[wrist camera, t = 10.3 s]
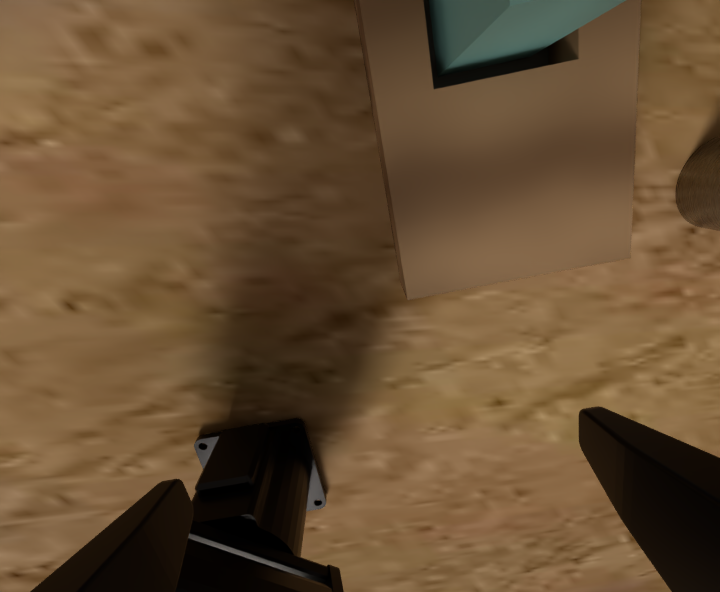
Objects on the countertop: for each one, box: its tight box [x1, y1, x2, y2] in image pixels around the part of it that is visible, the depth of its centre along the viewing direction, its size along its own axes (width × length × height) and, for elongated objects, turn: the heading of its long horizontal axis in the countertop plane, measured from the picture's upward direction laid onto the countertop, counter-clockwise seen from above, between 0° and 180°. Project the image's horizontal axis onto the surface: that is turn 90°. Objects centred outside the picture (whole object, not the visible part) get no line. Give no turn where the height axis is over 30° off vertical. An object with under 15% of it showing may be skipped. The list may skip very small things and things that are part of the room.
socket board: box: [354, 0, 641, 300], centre depth 16 cm, size 16×10×2 cm, turn 11°
